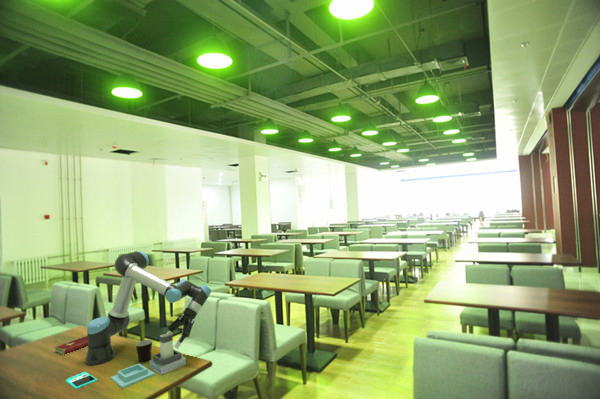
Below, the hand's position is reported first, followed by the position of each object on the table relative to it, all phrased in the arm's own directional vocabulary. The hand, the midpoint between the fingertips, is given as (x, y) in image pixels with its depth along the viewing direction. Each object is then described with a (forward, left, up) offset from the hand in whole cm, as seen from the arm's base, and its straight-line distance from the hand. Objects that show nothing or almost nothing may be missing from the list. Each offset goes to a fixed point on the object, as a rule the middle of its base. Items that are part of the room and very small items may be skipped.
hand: (169, 345), depth 189 cm
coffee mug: (-21, -4, -12) cm, 24 cm away
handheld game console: (-25, -36, -12) cm, 46 cm away
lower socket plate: (-5, -18, -11) cm, 22 cm away
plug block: (-1, -1, -7) cm, 8 cm away
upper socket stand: (-1, -1, -11) cm, 12 cm away
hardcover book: (-80, -24, -12) cm, 85 cm away
